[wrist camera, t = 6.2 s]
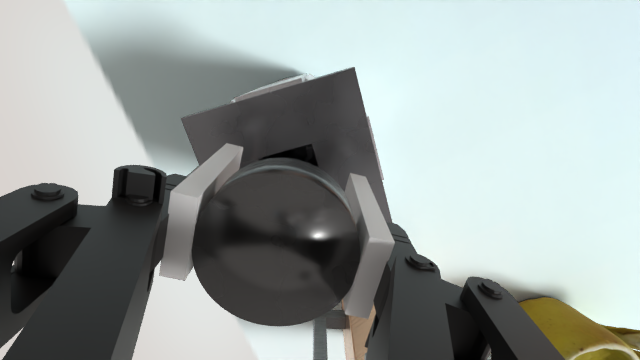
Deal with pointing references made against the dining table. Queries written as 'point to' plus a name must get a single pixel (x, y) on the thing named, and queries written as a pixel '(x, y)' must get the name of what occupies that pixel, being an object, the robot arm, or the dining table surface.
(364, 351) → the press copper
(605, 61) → the dining table surface
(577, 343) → the mug
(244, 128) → the plate
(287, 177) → the plunger steel
